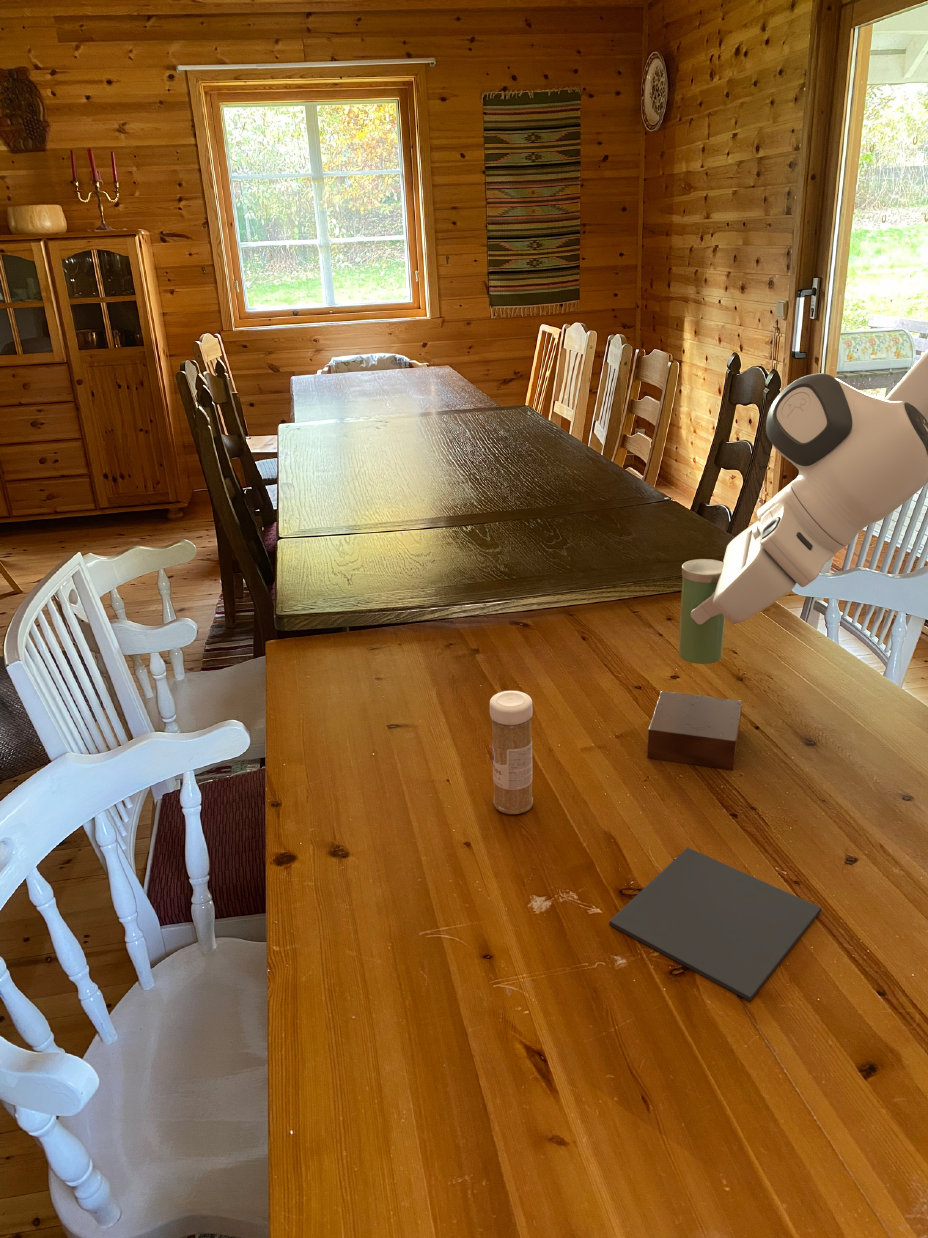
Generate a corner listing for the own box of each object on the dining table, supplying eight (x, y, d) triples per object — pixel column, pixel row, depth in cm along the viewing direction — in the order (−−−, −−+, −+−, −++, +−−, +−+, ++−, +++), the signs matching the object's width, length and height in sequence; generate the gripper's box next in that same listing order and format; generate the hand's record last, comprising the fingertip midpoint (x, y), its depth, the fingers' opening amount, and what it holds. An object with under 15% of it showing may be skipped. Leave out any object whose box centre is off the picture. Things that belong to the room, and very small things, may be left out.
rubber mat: (821, 911, 85) (821, 907, 85) (750, 1002, 76) (750, 997, 75) (687, 851, 94) (687, 847, 94) (609, 925, 85) (609, 921, 84)
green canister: (731, 653, 107) (738, 564, 103) (709, 668, 104) (715, 577, 100) (691, 642, 111) (696, 555, 106) (669, 656, 107) (673, 568, 103)
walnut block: (739, 728, 115) (742, 700, 114) (733, 770, 107) (735, 741, 105) (659, 718, 119) (661, 690, 117) (647, 758, 110) (648, 729, 108)
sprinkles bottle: (488, 797, 104) (484, 692, 99) (526, 789, 105) (524, 686, 100) (499, 820, 100) (496, 712, 95) (539, 812, 101) (538, 705, 96)
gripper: (779, 485, 107) (689, 558, 114) (772, 538, 89) (666, 621, 96) (816, 524, 107) (724, 594, 114) (816, 584, 90) (707, 664, 97)
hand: (697, 607), depth 105 cm, fingers closed on green canister, 5 cm apart
